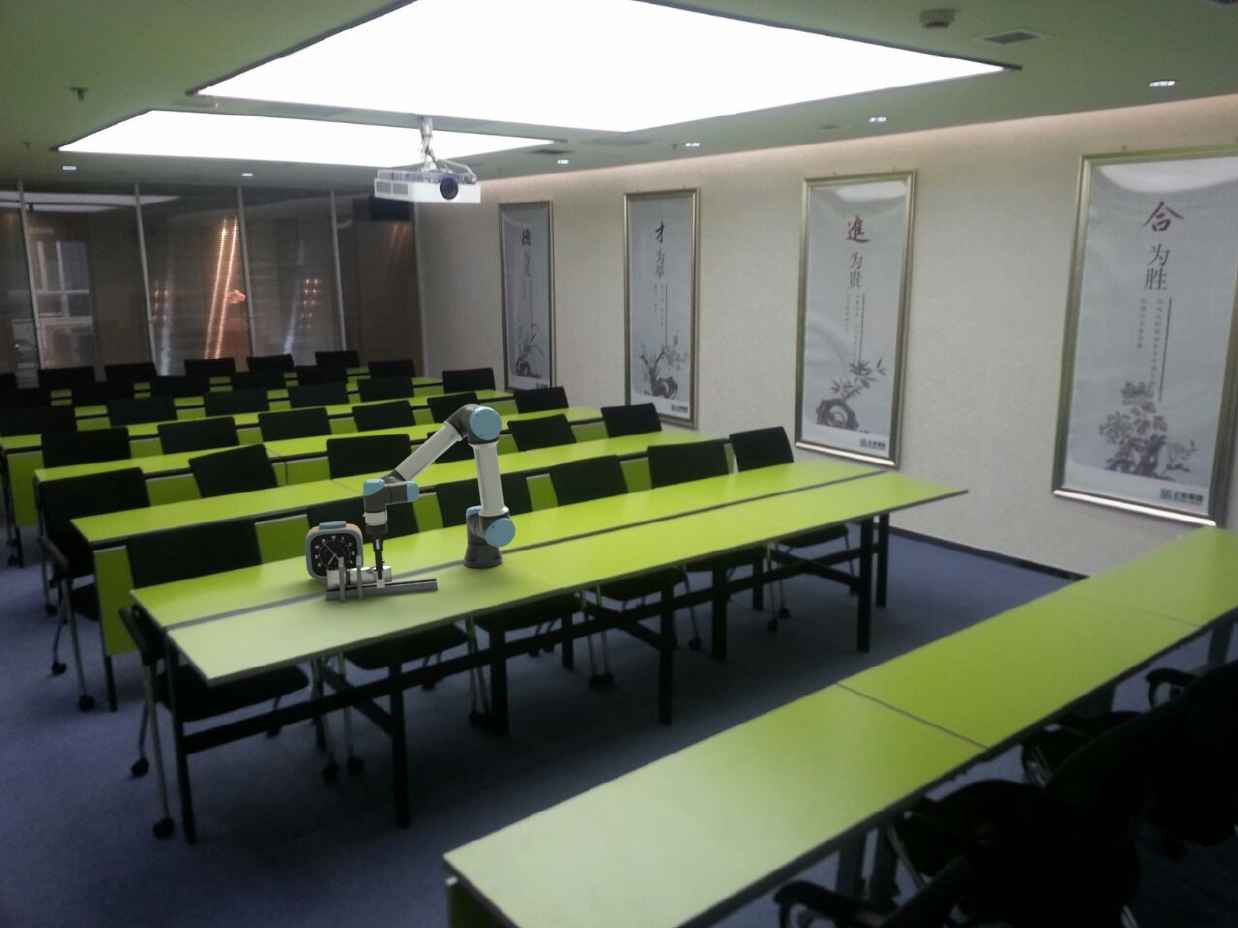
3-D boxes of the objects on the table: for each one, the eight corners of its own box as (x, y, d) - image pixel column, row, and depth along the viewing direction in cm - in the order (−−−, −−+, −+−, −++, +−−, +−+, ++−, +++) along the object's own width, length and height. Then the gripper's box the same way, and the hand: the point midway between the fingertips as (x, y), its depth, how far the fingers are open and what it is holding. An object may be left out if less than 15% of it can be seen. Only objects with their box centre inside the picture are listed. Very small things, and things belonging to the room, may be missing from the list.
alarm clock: (307, 585, 348) (303, 529, 344) (309, 577, 357) (304, 522, 353) (364, 579, 353) (360, 524, 349) (364, 572, 362) (360, 518, 358)
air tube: (391, 578, 341) (390, 562, 339) (392, 583, 335) (391, 567, 334) (328, 584, 335) (327, 568, 334) (328, 589, 329) (326, 573, 328)
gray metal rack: (436, 582, 348) (434, 548, 346) (438, 592, 337) (436, 558, 334) (326, 593, 339) (324, 558, 336) (325, 604, 327) (322, 568, 324)
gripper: (365, 517, 340) (369, 577, 345) (365, 530, 322) (370, 593, 327) (386, 515, 342) (390, 575, 347) (387, 528, 324) (392, 591, 329)
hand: (380, 584), depth 337 cm, fingers closed on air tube, 6 cm apart
